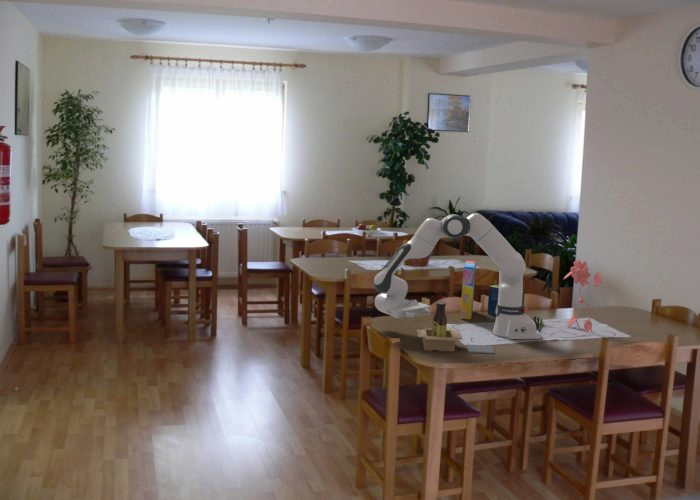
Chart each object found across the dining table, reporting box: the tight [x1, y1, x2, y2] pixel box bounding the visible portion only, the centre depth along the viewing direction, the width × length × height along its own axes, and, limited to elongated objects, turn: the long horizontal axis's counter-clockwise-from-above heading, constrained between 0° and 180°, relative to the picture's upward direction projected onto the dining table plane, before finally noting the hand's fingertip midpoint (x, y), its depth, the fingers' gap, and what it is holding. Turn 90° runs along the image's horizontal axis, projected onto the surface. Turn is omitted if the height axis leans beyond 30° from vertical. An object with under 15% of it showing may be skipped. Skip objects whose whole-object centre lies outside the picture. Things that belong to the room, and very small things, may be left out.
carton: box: [415, 326, 463, 352], centre depth 326 cm, size 19×19×6 cm
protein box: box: [487, 283, 526, 318], centre depth 387 cm, size 10×15×16 cm
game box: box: [459, 260, 477, 320], centre depth 385 cm, size 21×6×27 cm, turn 168°
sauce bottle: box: [431, 301, 448, 337], centre depth 325 cm, size 7×6×20 cm
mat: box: [465, 343, 496, 355], centre depth 324 cm, size 11×11×1 cm
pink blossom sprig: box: [558, 259, 603, 337], centre depth 361 cm, size 15×26×35 cm, turn 26°
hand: (421, 314), depth 334 cm, fingers open, 8 cm apart
